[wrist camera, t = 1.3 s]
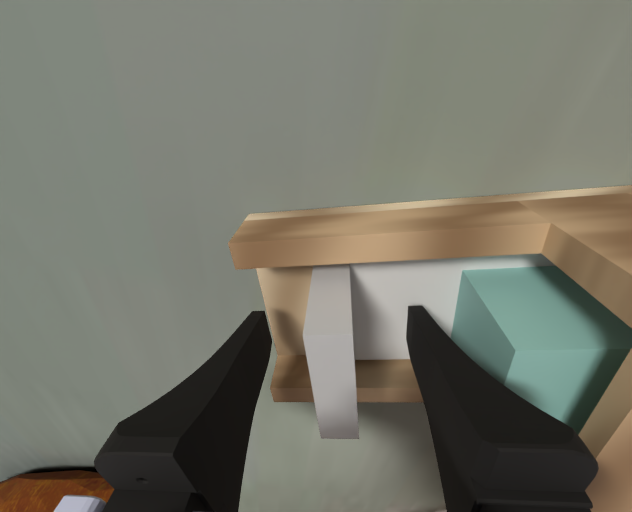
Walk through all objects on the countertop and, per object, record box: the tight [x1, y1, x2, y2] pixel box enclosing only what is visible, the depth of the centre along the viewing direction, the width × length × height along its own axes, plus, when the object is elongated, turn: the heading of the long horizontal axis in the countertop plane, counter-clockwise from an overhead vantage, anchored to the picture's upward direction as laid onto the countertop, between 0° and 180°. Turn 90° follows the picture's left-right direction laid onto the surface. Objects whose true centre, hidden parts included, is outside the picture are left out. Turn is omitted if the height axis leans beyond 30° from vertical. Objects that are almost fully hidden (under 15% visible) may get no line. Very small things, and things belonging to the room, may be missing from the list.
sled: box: [303, 253, 556, 439], centre depth 12 cm, size 12×7×5 cm, turn 96°
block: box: [451, 266, 632, 435], centre depth 12 cm, size 4×4×4 cm
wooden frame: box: [228, 185, 632, 512], centre depth 12 cm, size 18×10×8 cm, turn 96°
